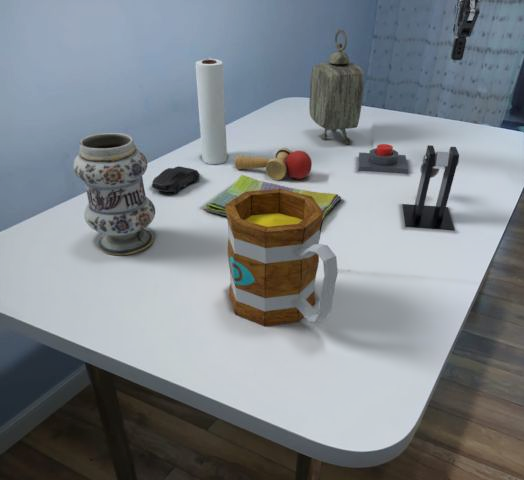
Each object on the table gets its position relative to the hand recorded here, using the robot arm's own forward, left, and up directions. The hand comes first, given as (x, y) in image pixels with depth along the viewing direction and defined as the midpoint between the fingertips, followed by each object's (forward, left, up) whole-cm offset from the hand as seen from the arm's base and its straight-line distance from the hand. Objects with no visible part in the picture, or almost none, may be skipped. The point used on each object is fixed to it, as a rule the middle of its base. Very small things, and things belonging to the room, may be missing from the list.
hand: (456, 59), depth 104 cm
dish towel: (+34, +29, -23) cm, 50 cm away
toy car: (+57, +21, -23) cm, 65 cm away
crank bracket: (+4, +30, -23) cm, 38 cm away
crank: (+4, +27, -15) cm, 31 cm away
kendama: (+37, +11, -23) cm, 45 cm away
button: (+12, +4, -19) cm, 23 cm away
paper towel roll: (+52, +4, -23) cm, 57 cm away
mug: (+28, +63, -23) cm, 73 cm away
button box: (+12, +4, -23) cm, 26 cm away
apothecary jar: (+59, +47, -23) cm, 79 cm away
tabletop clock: (+25, -16, -23) cm, 37 cm away
